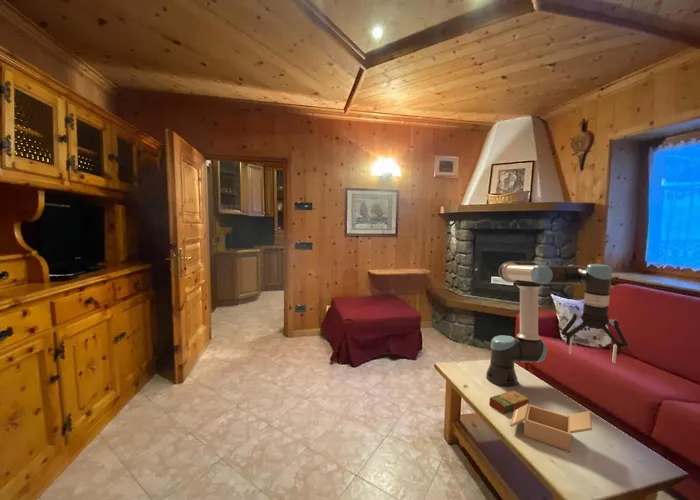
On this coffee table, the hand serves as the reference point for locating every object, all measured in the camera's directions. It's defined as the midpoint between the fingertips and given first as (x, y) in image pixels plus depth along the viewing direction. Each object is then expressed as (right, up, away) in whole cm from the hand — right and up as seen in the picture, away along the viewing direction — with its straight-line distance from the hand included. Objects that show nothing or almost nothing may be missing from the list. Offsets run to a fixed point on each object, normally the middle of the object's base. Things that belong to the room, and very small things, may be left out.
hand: (591, 357), depth 122 cm
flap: (-10, -25, -3) cm, 27 cm away
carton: (-21, -31, +22) cm, 43 cm away
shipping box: (-18, -32, +3) cm, 37 cm away
